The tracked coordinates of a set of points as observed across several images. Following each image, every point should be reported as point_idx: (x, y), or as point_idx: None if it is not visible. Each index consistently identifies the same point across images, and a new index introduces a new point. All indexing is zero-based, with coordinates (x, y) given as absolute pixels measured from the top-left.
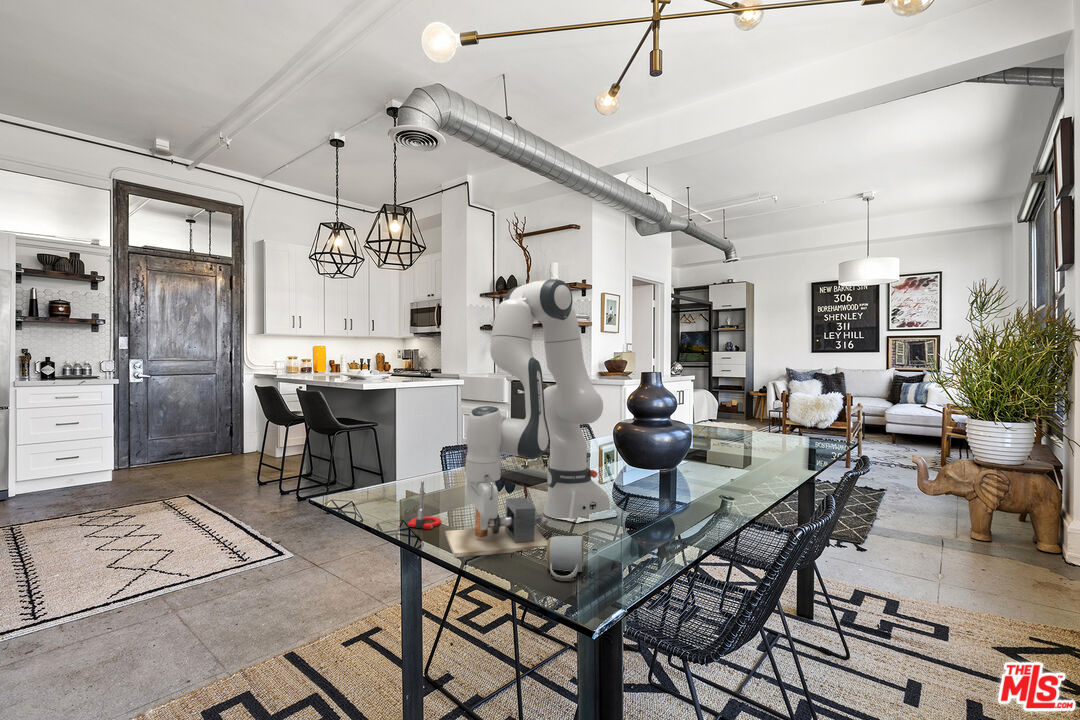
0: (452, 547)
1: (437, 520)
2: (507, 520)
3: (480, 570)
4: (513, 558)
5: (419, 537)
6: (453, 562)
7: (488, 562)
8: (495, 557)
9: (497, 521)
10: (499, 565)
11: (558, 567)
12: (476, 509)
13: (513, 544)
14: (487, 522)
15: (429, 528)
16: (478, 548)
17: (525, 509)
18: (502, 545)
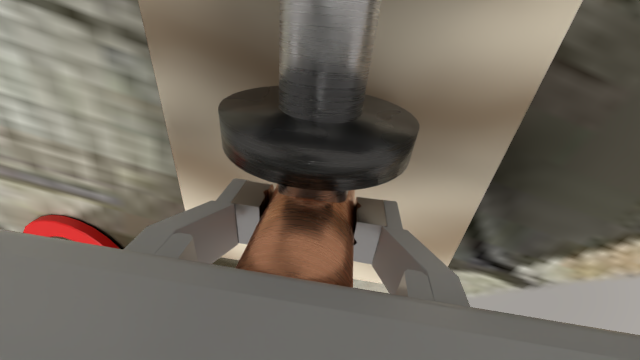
0: (375, 280)
1: (66, 235)
2: (373, 10)
3: (608, 252)
4: (626, 76)
5: None
6: (468, 291)
7: (562, 203)
8: (534, 158)
9: (410, 150)
10: (636, 176)
11: None
12: None
13: (502, 13)
14: (406, 232)
15: None
16: (438, 214)
17: None
18: (471, 94)
